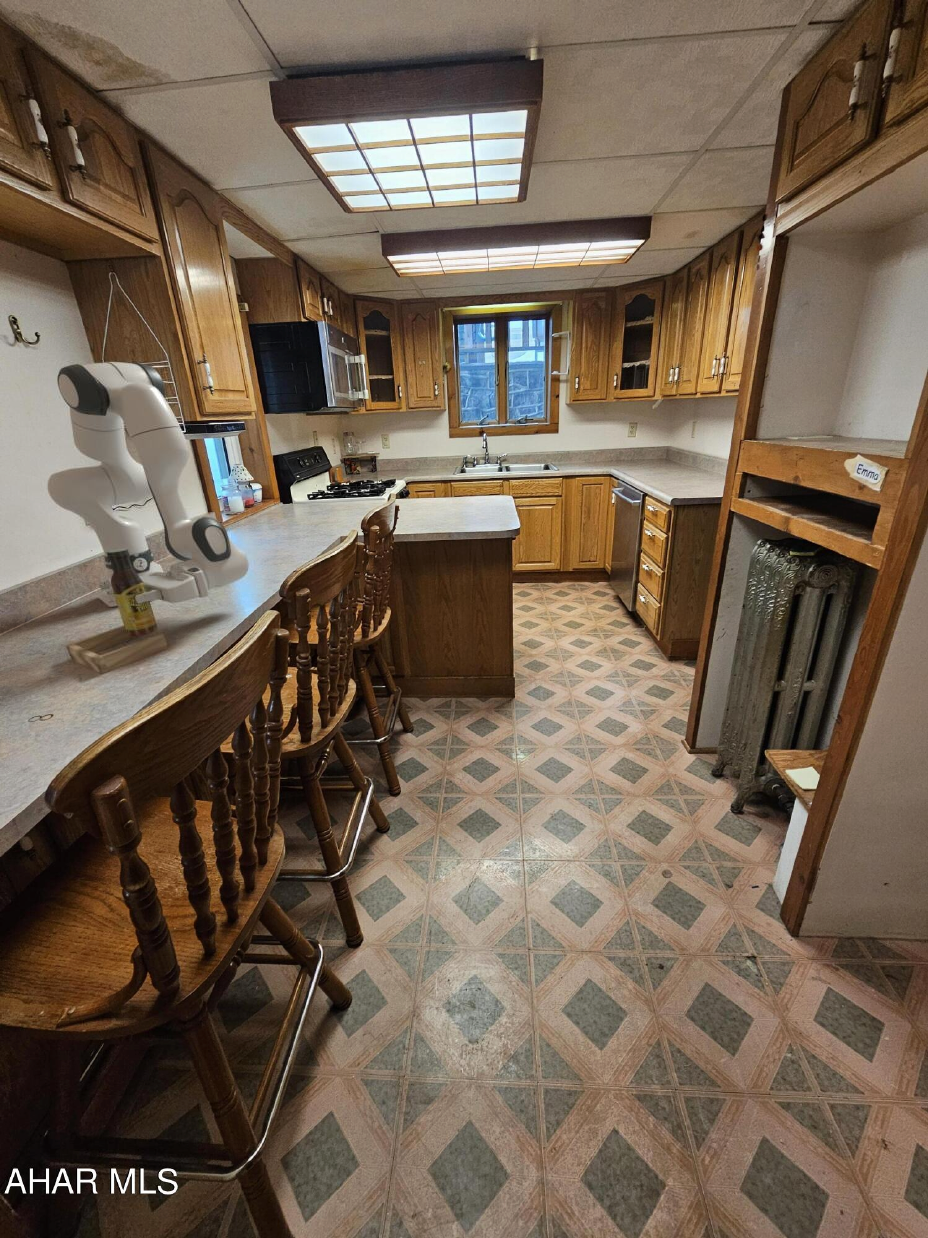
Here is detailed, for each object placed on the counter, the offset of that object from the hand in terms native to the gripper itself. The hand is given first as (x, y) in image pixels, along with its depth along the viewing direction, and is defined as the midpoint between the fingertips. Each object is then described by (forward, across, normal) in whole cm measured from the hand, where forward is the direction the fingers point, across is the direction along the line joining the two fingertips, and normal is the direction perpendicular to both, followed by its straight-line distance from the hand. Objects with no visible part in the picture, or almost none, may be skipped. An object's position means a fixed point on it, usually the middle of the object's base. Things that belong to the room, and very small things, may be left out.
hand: (127, 597), depth 110 cm
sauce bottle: (-1, 0, +9) cm, 9 cm away
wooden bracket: (+5, 0, +12) cm, 13 cm away
